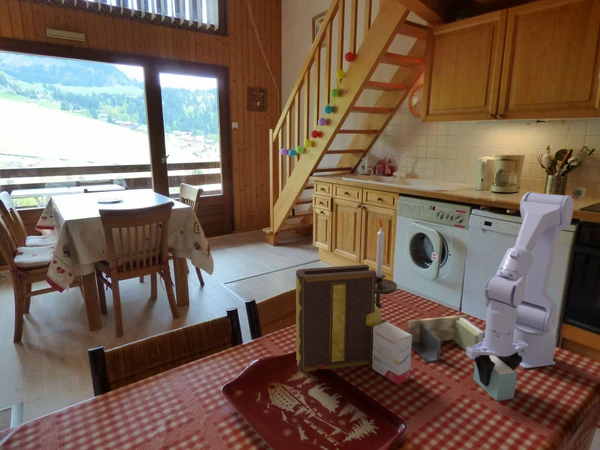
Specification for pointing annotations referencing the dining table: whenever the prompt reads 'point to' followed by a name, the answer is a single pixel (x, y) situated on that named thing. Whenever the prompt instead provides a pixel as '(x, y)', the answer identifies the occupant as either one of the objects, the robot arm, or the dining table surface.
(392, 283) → the candlestick
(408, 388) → the dining table surface
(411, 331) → the shelf wall
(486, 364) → the robot arm
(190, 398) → the dining table surface
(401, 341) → the ink box
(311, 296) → the book
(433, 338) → the bookend
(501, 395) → the boxed book
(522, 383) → the dining table surface
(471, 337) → the book row
